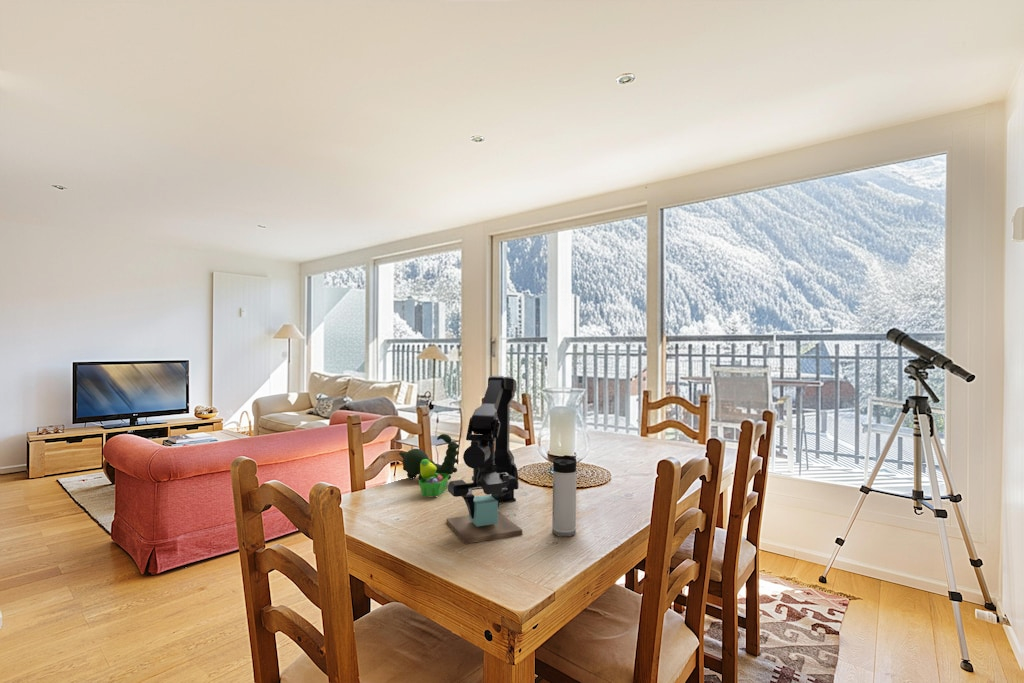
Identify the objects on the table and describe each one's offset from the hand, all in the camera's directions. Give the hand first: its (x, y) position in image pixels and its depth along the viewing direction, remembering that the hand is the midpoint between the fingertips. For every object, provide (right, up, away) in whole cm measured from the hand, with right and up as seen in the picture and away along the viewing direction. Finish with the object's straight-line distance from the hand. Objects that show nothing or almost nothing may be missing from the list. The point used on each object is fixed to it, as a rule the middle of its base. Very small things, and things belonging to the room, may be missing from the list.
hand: (483, 516), depth 136 cm
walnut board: (0, -3, 0) cm, 3 cm away
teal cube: (0, -1, 0) cm, 1 cm away
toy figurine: (-23, -3, +47) cm, 52 cm away
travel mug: (+22, -4, -2) cm, 22 cm away
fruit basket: (-19, -3, +32) cm, 37 cm away
